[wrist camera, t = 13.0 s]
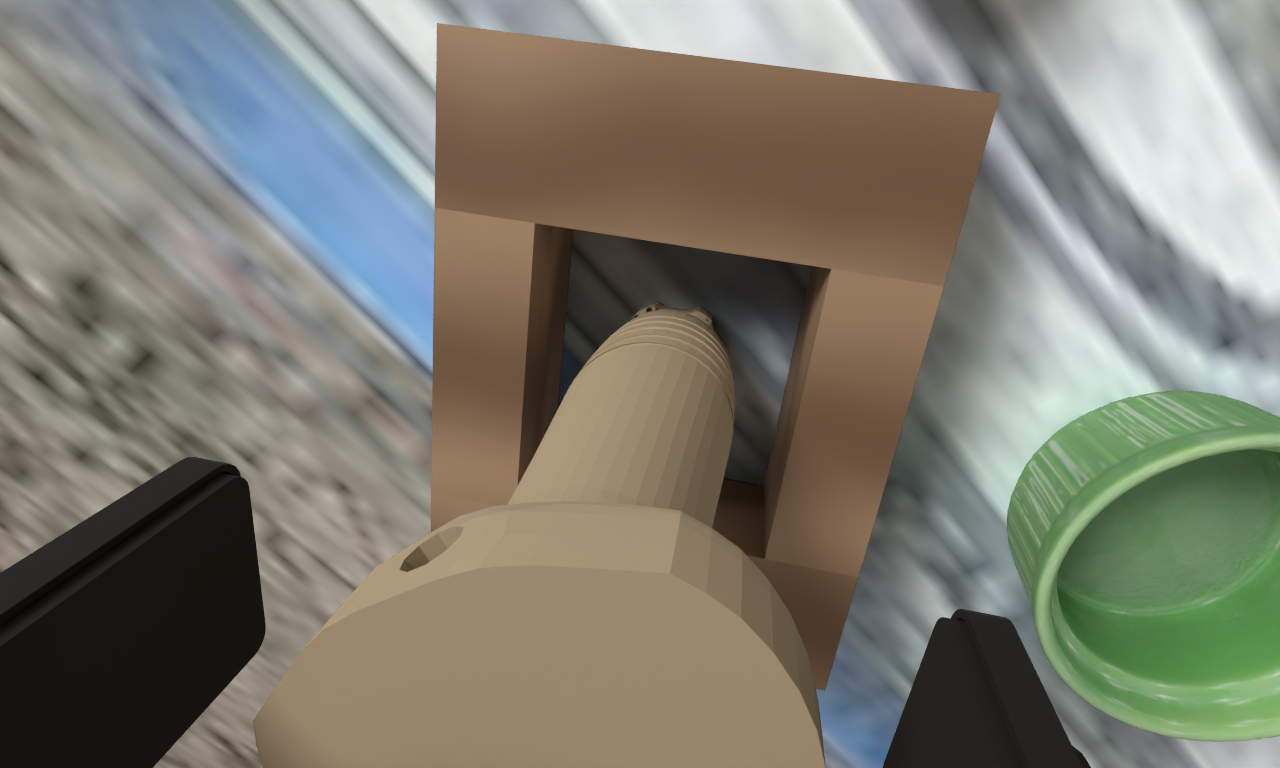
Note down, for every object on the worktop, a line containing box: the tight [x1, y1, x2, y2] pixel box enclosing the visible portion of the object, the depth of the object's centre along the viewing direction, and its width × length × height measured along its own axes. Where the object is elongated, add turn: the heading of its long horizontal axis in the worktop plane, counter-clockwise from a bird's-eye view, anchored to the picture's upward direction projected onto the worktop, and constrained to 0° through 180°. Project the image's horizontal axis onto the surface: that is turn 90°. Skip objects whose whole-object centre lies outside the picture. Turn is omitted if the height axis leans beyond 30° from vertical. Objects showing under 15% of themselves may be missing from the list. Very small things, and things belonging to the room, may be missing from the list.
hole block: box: [431, 23, 1000, 690], centre depth 20 cm, size 16×12×4 cm
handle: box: [253, 302, 826, 768], centre depth 14 cm, size 5×6×15 cm
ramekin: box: [1007, 391, 1280, 741], centre depth 19 cm, size 9×9×4 cm
